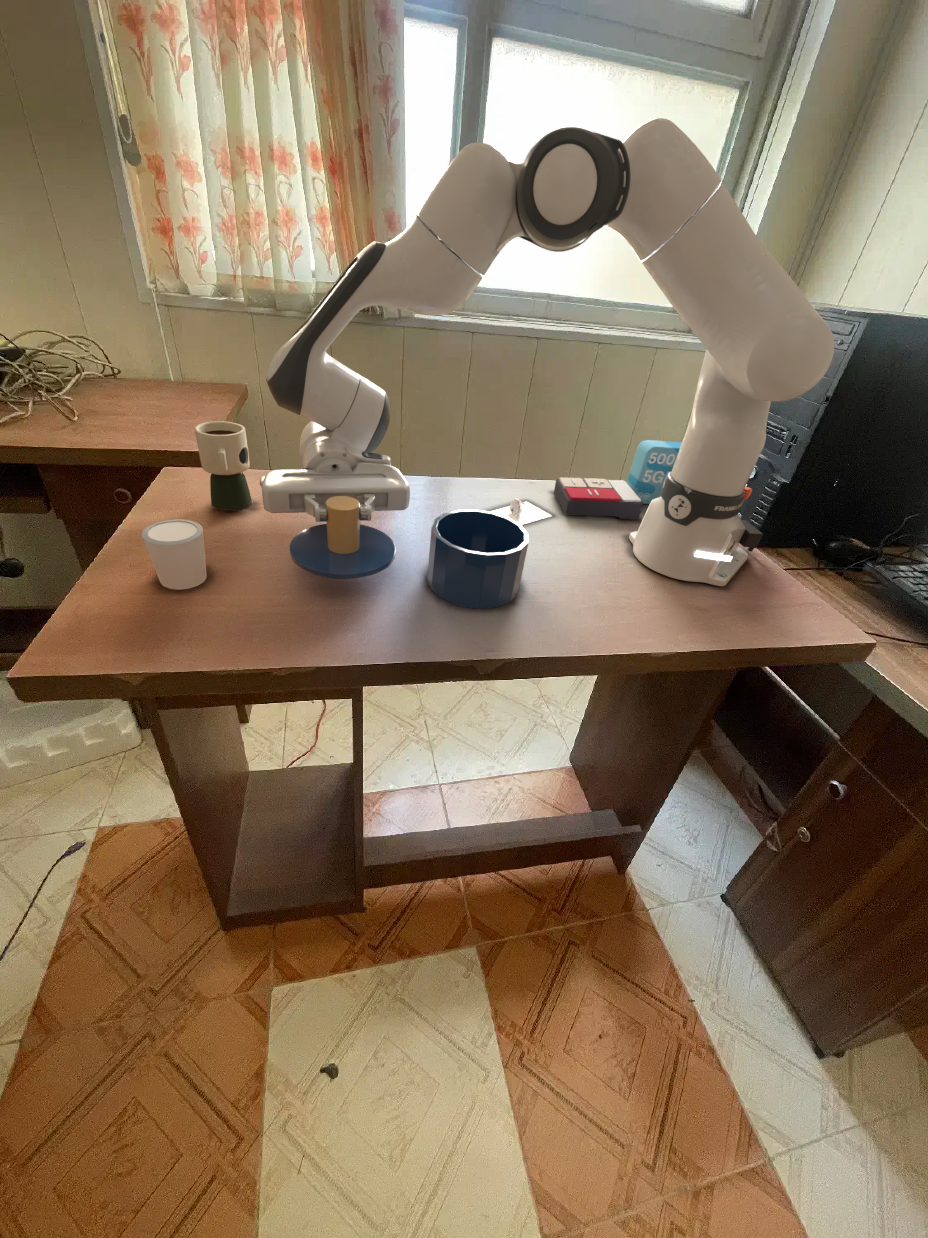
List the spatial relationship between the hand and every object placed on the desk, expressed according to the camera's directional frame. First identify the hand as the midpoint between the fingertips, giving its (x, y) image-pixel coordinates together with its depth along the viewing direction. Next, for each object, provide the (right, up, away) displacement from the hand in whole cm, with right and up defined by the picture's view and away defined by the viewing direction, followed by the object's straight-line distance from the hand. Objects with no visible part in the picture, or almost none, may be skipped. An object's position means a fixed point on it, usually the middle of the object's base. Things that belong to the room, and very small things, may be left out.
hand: (344, 516), depth 69 cm
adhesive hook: (+27, +6, +30) cm, 41 cm away
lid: (-1, -4, +4) cm, 6 cm away
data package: (+56, +12, +43) cm, 72 cm away
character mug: (-23, +5, +18) cm, 30 cm away
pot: (+17, -8, +8) cm, 21 cm away
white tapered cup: (-22, -8, +1) cm, 23 cm away
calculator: (+42, +9, +37) cm, 57 cm away
